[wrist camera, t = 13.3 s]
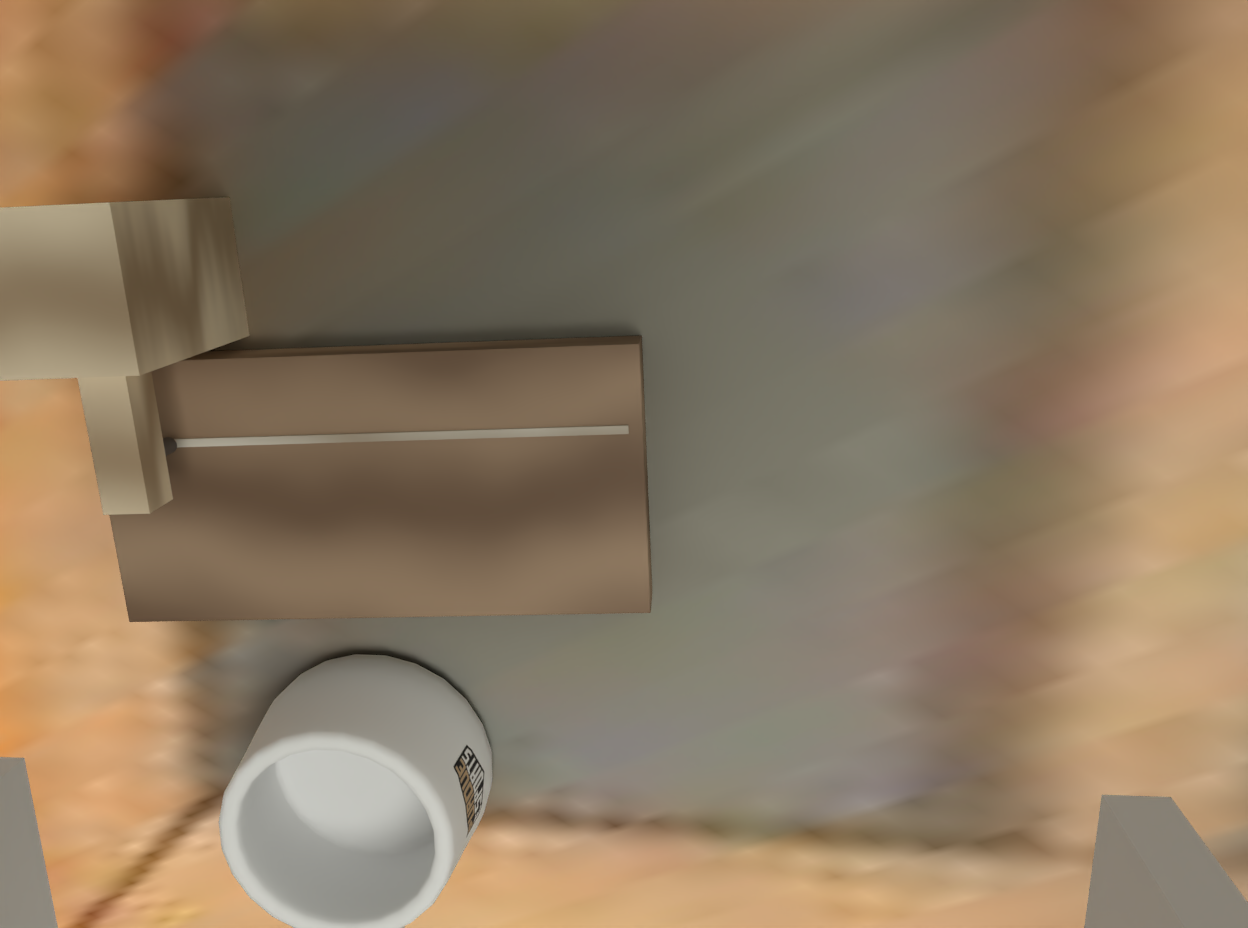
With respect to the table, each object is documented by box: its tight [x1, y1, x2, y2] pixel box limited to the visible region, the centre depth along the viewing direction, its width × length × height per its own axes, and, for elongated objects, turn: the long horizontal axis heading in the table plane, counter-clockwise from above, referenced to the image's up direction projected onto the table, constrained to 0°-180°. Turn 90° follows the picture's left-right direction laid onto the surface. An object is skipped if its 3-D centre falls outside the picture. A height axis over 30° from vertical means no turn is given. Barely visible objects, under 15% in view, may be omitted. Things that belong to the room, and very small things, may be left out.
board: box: [110, 335, 652, 622], centre depth 38 cm, size 10×20×2 cm, turn 93°
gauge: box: [0, 197, 249, 515], centre depth 35 cm, size 10×5×8 cm, turn 3°
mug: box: [219, 654, 493, 928], centre depth 40 cm, size 12×10×6 cm
